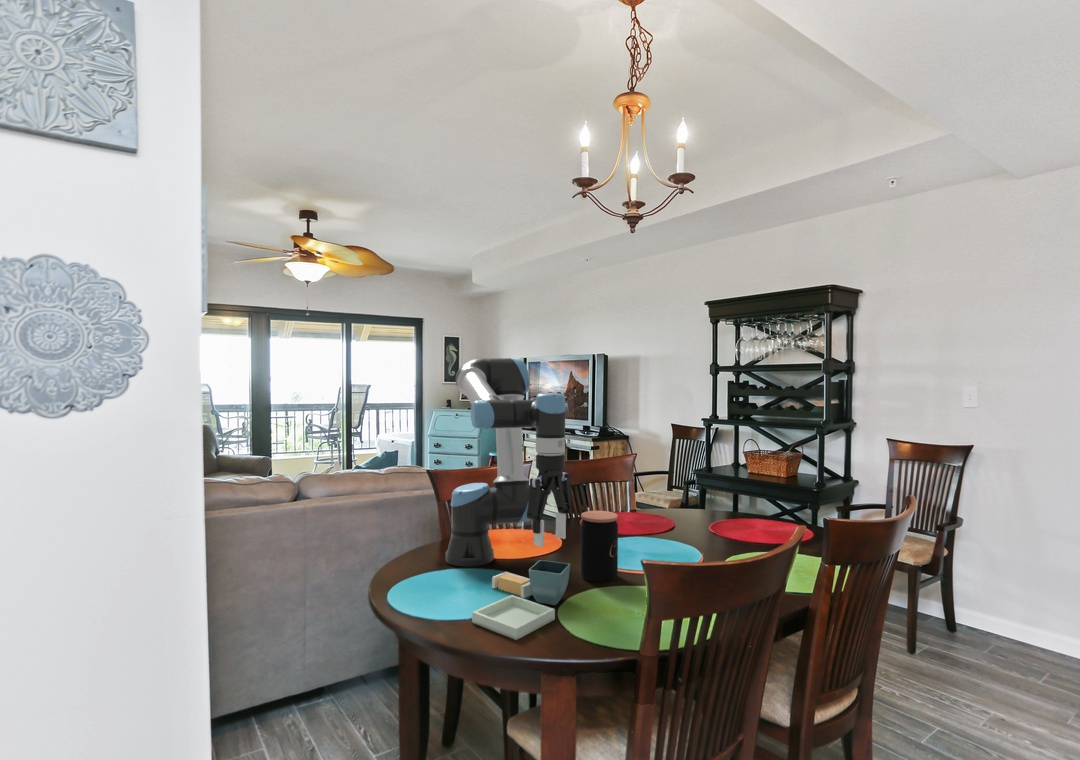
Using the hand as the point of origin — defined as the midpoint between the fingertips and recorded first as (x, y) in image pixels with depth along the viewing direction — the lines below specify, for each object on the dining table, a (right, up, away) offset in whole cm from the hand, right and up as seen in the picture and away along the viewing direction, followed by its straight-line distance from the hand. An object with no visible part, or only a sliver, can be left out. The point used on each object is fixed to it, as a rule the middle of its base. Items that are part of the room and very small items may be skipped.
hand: (550, 541), depth 147 cm
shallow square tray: (-9, -15, -12) cm, 21 cm away
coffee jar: (+15, -16, +18) cm, 28 cm away
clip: (-9, -15, +8) cm, 19 cm away
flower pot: (0, -16, 0) cm, 16 cm away
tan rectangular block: (-10, -16, +7) cm, 20 cm away
